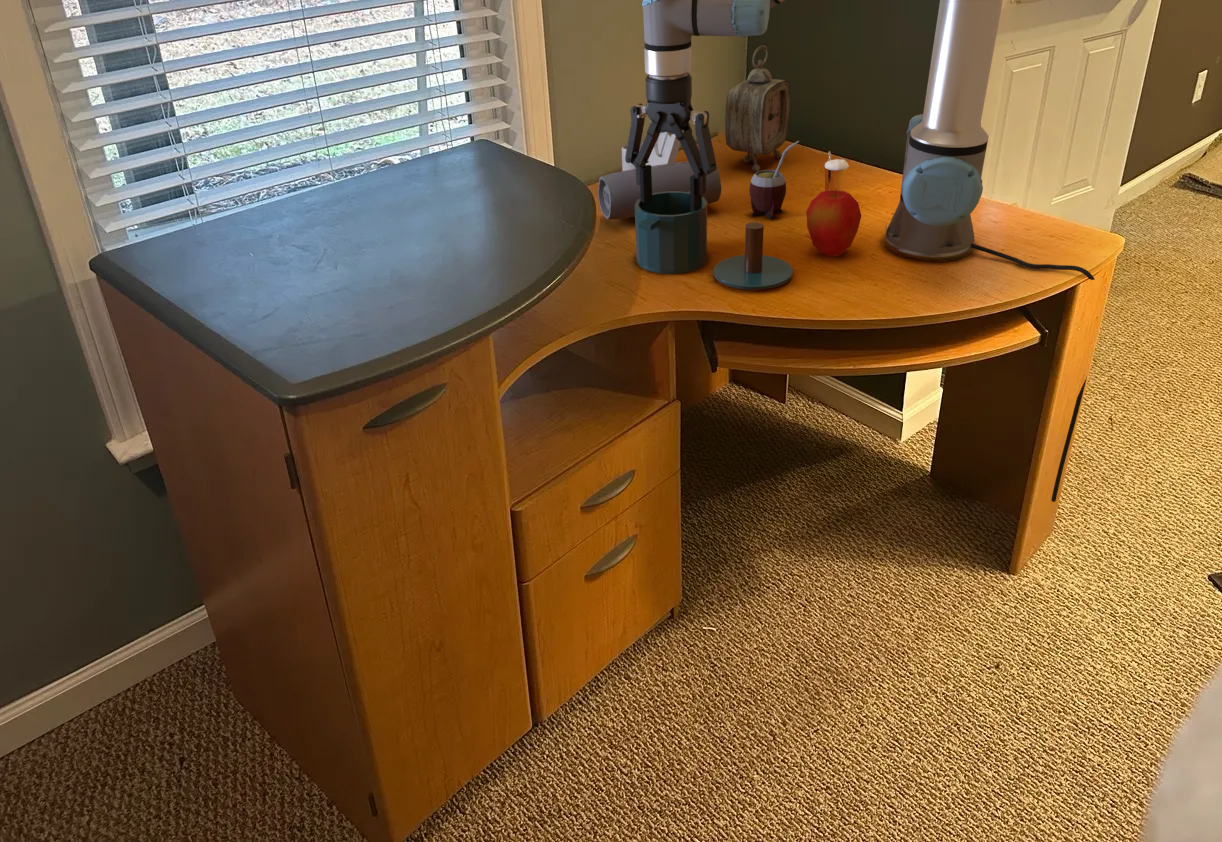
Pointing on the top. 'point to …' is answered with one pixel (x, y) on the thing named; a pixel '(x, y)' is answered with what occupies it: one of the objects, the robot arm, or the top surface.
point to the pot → (670, 233)
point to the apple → (833, 221)
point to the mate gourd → (768, 190)
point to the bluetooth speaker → (623, 190)
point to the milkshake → (835, 174)
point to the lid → (753, 265)
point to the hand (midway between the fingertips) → (671, 207)
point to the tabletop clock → (758, 113)
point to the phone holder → (657, 151)
